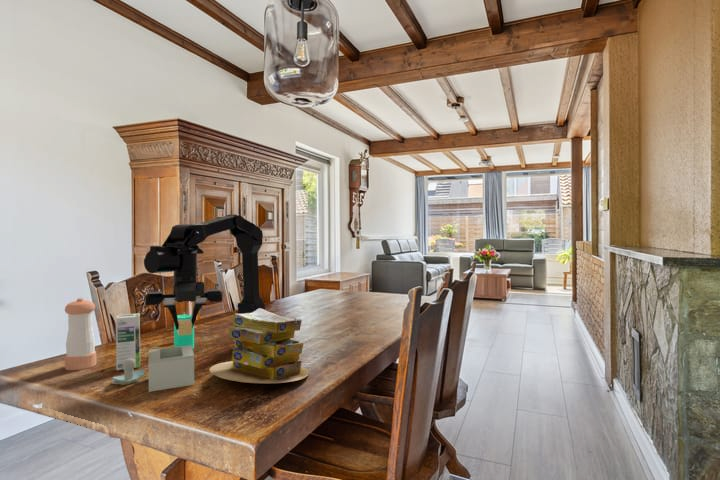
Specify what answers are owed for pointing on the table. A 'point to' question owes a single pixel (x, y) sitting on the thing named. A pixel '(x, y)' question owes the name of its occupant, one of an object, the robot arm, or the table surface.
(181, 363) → the coin box
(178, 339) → the candle
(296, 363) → the stacked boxes on plate
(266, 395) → the table surface
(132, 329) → the syrup box
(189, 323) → the rectangular block
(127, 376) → the pacifier
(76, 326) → the pepper shaker
